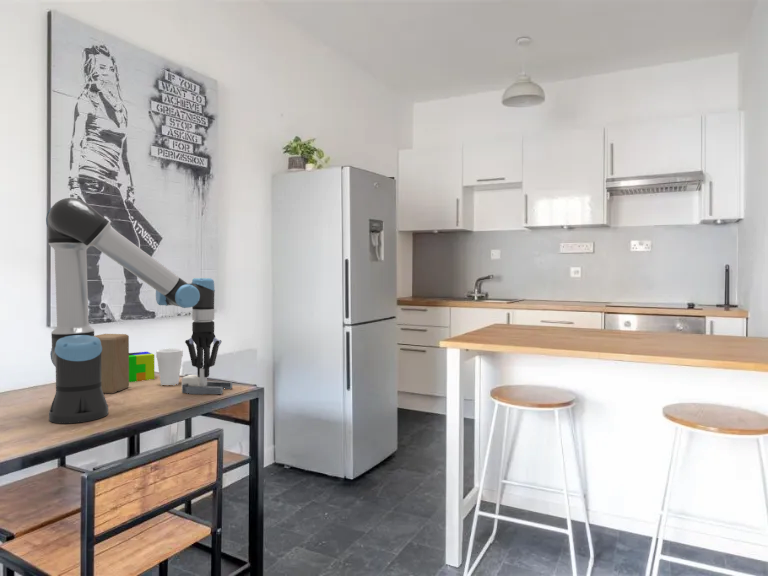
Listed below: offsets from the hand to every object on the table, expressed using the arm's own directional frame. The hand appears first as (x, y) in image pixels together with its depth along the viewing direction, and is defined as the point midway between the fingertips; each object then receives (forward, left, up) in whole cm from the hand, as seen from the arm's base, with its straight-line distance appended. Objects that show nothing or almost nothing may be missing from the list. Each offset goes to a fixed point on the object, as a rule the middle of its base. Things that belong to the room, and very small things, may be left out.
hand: (203, 385), depth 188 cm
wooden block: (-4, +34, -2) cm, 34 cm away
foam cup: (+9, +18, -2) cm, 20 cm away
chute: (0, -2, -2) cm, 2 cm away
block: (0, +4, -2) cm, 4 cm away
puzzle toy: (+17, +36, -2) cm, 39 cm away
